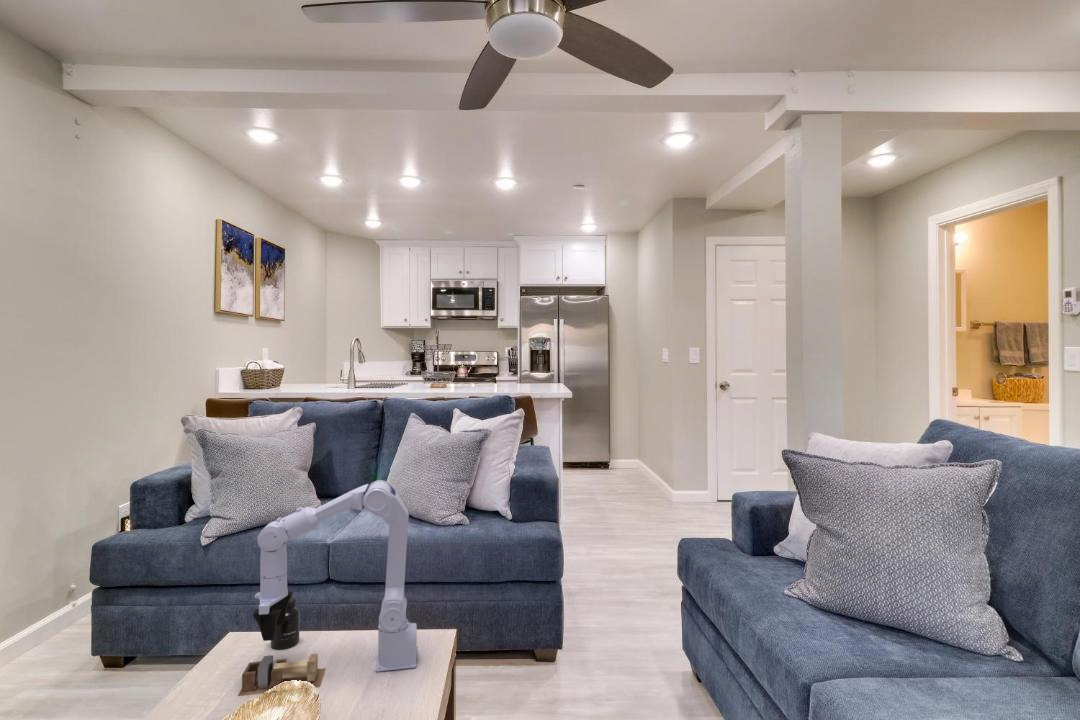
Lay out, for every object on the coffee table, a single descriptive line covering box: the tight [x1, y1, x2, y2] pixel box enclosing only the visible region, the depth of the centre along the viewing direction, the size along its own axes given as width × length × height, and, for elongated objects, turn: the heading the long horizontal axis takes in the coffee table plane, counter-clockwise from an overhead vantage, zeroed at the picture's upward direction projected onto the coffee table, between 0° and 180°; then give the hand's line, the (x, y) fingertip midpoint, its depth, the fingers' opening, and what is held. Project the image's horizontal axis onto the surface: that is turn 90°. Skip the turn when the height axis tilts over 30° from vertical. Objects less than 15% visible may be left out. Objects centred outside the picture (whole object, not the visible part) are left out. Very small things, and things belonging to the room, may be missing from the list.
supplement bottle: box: [270, 596, 301, 651], centre depth 146 cm, size 7×7×12 cm
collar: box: [258, 654, 275, 690], centre depth 128 cm, size 2×5×5 cm, turn 12°
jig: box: [237, 658, 327, 697], centre depth 128 cm, size 17×8×5 cm, turn 102°
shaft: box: [273, 653, 319, 682], centre depth 129 cm, size 9×4×4 cm, turn 102°
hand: (273, 632), depth 133 cm, fingers open, 7 cm apart
